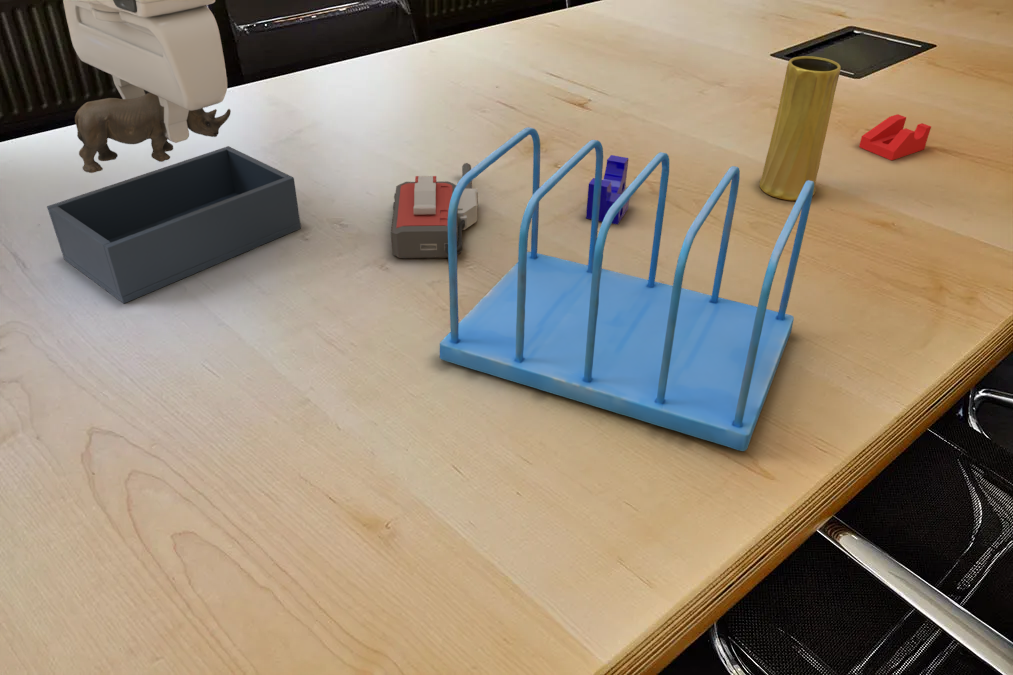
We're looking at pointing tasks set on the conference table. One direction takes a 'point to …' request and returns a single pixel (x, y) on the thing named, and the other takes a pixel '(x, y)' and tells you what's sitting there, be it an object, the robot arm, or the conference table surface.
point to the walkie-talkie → (429, 216)
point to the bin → (174, 221)
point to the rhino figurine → (133, 127)
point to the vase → (800, 126)
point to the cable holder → (610, 188)
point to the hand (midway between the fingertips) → (160, 131)
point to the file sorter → (627, 319)
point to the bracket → (895, 138)
